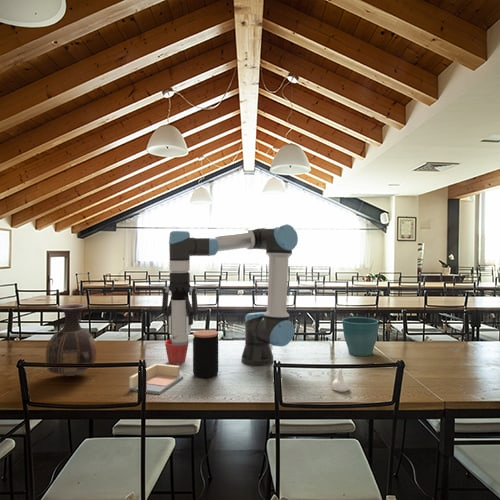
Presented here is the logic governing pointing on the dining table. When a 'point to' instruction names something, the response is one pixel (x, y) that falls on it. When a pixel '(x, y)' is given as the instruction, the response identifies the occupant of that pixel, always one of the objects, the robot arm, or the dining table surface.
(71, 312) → the vase
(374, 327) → the flower pot
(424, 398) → the dining table surface
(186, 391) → the dining table surface
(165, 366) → the tray
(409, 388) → the dining table surface
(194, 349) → the coffee jar
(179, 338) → the travel mug
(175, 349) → the flower pot
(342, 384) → the garlic bulb
